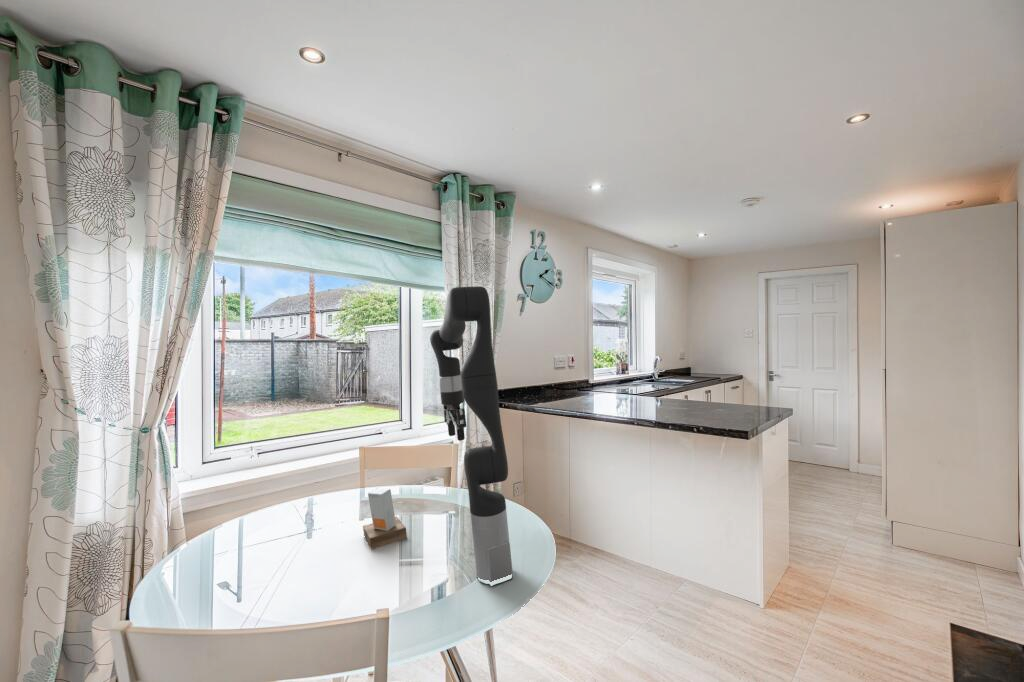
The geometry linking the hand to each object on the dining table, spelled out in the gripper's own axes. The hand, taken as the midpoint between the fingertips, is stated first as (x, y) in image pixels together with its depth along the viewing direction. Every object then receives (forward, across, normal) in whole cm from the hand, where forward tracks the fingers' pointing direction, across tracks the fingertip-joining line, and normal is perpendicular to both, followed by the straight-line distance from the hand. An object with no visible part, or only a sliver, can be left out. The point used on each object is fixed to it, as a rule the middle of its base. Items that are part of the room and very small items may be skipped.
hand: (456, 437), depth 151 cm
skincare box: (+25, +5, +25) cm, 35 cm away
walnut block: (+29, +6, +25) cm, 39 cm away
